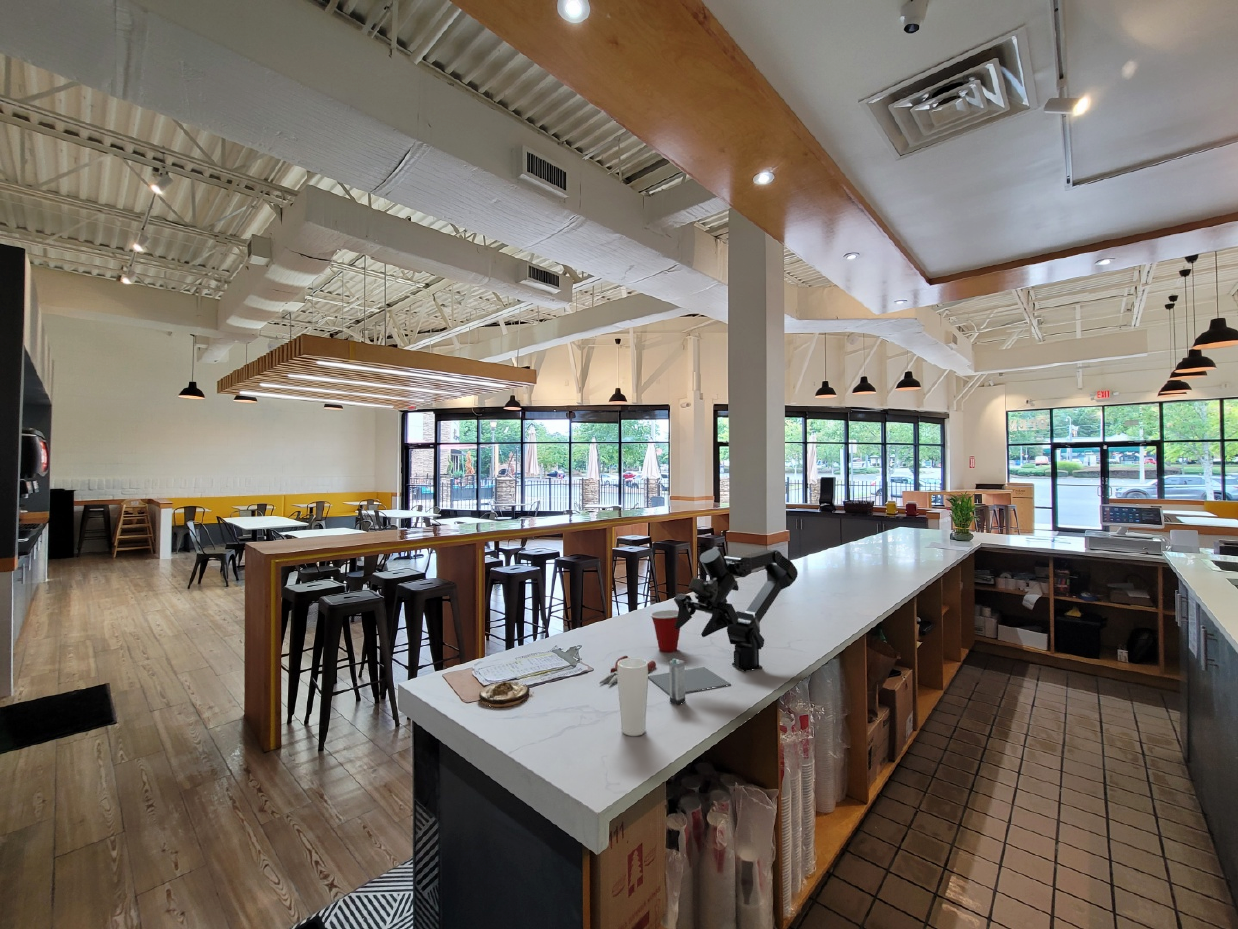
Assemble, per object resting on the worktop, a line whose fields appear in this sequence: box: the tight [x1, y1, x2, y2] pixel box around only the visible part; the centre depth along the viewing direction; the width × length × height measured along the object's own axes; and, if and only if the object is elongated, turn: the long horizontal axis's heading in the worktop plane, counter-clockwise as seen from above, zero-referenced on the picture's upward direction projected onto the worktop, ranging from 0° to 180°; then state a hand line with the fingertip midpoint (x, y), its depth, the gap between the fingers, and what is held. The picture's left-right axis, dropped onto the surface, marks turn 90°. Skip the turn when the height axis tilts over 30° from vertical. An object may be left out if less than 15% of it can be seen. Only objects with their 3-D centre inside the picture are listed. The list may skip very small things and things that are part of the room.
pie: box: [478, 680, 535, 709], centre depth 138 cm, size 15×15×4 cm
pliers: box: [599, 655, 657, 686], centre depth 153 cm, size 12×20×3 cm, turn 149°
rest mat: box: [648, 666, 732, 697], centre depth 147 cm, size 18×14×1 cm
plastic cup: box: [649, 609, 681, 653], centre depth 175 cm, size 11×11×12 cm
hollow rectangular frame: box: [668, 658, 686, 706], centre depth 134 cm, size 3×3×11 cm
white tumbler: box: [617, 657, 649, 737], centre depth 118 cm, size 7×7×15 cm
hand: (688, 632), depth 141 cm, fingers open, 9 cm apart
